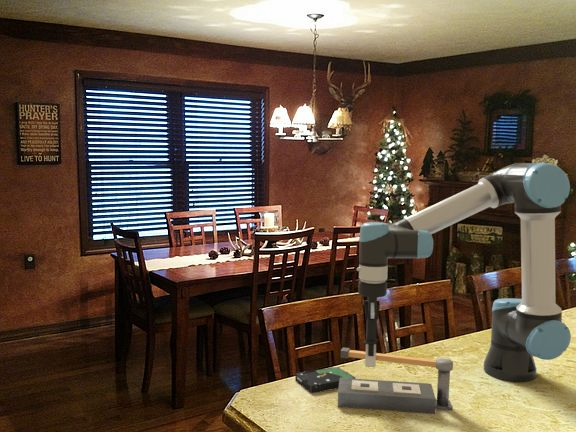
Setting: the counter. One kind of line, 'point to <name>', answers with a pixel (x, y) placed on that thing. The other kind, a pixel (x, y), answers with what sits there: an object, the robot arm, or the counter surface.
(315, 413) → the counter surface
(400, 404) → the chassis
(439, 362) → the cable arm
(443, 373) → the pivot post
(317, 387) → the disk drive
